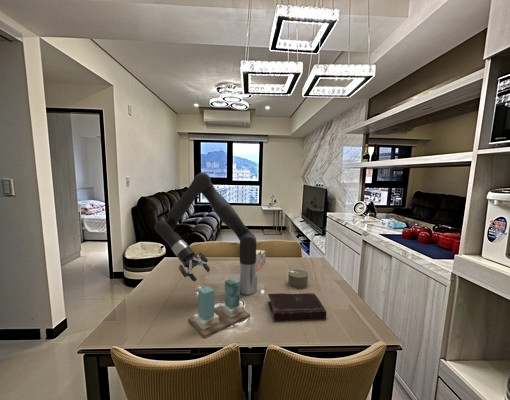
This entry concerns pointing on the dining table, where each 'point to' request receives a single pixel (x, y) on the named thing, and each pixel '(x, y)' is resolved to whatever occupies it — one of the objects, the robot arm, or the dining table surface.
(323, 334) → the dining table surface
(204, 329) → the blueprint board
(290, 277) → the can
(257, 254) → the stack of blocks
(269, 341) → the dining table surface
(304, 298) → the diary
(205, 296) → the teal pillar
